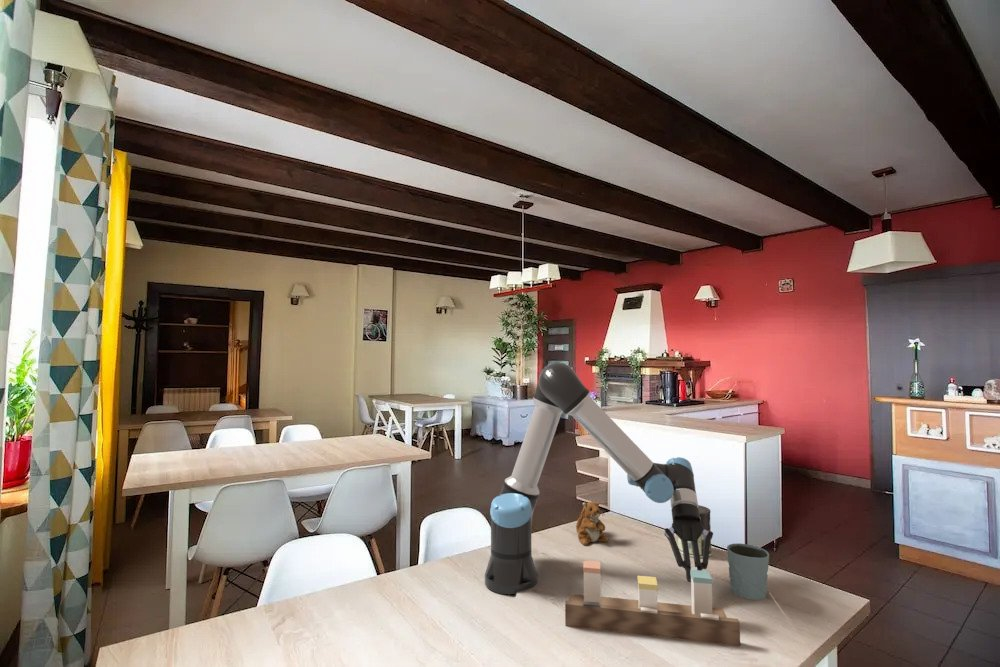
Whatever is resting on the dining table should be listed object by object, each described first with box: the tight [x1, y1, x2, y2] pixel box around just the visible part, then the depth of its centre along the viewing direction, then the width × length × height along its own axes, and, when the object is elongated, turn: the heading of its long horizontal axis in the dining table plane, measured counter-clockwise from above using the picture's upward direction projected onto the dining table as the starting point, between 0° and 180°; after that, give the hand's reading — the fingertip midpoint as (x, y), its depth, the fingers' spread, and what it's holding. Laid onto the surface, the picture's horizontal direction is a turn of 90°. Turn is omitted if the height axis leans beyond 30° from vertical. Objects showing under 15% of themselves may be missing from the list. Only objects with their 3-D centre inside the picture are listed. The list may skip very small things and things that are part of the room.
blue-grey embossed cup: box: [726, 543, 770, 601], centre depth 130 cm, size 10×10×12 cm
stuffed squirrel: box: [575, 501, 609, 546], centre depth 172 cm, size 10×14×13 cm
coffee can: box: [677, 504, 712, 559], centre depth 159 cm, size 10×10×14 cm
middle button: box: [637, 575, 659, 610], centre depth 114 cm, size 4×4×10 cm
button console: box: [564, 592, 741, 647], centre depth 117 cm, size 38×16×6 cm, turn 78°
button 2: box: [690, 570, 713, 615], centre depth 117 cm, size 4×4×10 cm
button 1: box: [582, 560, 601, 604], centre depth 122 cm, size 4×4×10 cm
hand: (697, 595), depth 123 cm, fingers closed
